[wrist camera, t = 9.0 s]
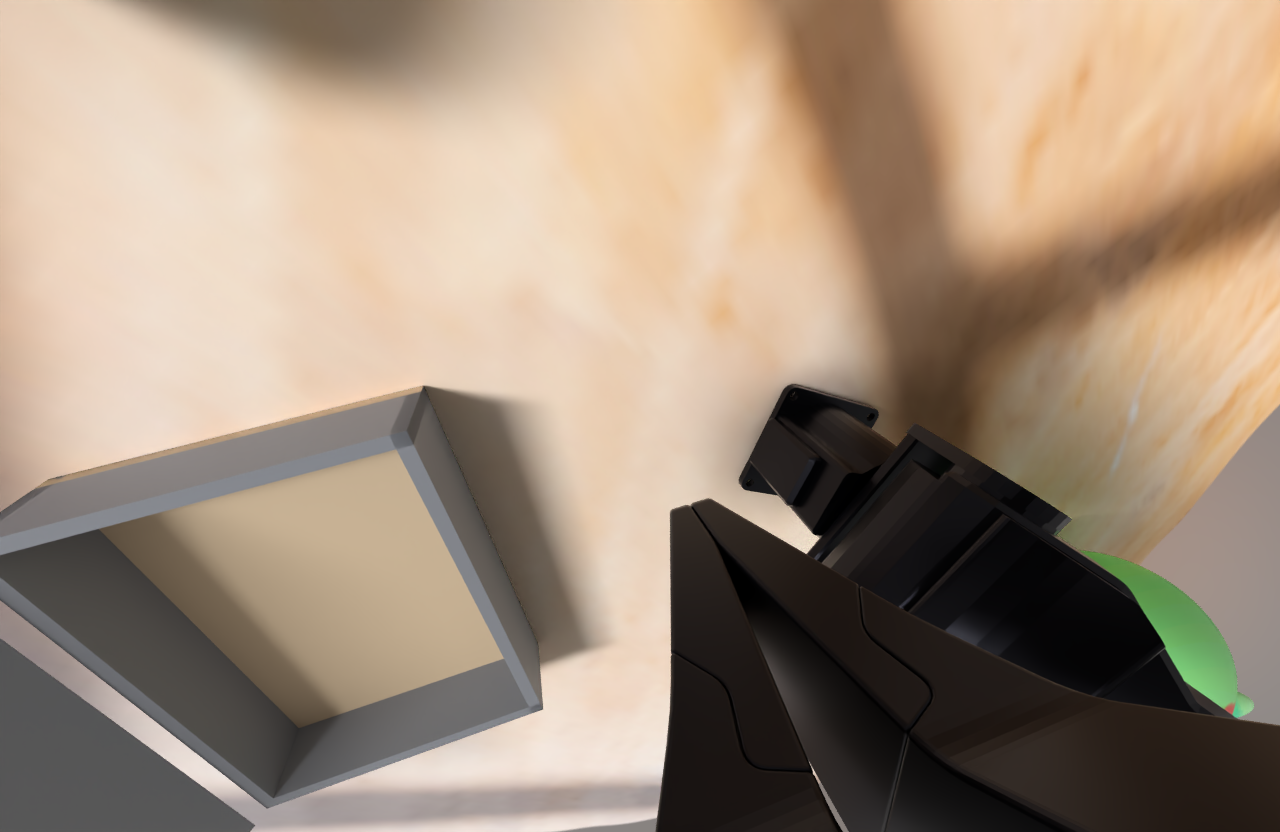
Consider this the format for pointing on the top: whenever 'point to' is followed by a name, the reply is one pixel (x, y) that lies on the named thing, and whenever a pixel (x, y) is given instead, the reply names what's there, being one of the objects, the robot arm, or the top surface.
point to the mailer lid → (87, 767)
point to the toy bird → (1183, 633)
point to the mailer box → (284, 594)
